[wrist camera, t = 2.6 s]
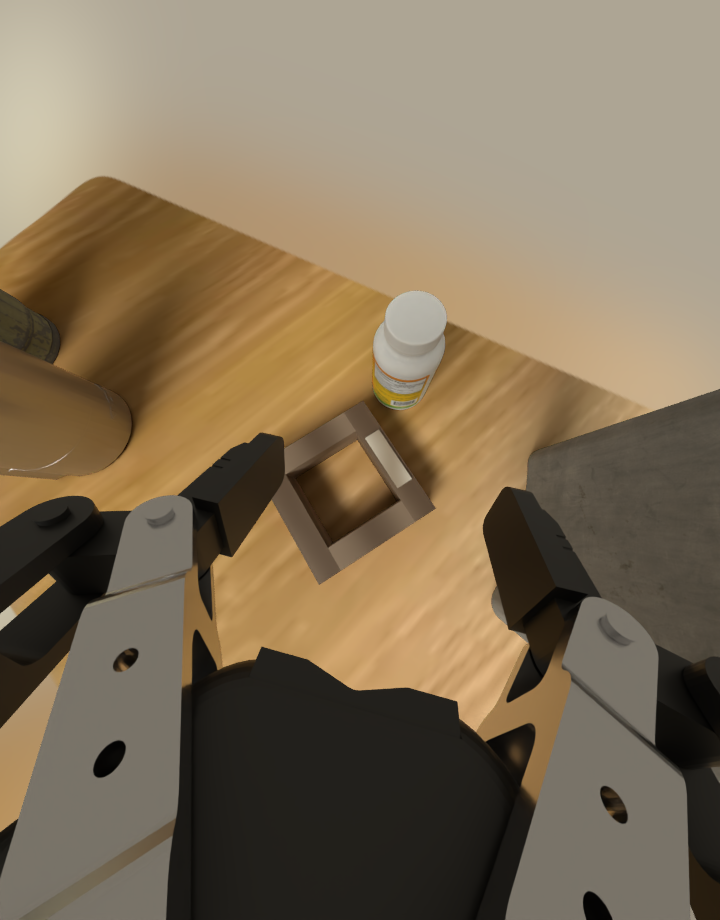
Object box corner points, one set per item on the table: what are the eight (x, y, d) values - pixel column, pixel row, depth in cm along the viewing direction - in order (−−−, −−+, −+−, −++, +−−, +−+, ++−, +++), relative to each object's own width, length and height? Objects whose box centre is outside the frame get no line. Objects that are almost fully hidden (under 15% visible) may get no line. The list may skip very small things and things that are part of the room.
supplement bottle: (397, 351, 27) (413, 265, 17) (436, 385, 26) (476, 313, 16) (360, 387, 26) (356, 318, 17) (400, 422, 25) (419, 371, 16)
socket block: (325, 574, 23) (318, 585, 20) (267, 471, 25) (252, 466, 22) (427, 508, 24) (436, 508, 21) (363, 412, 26) (363, 399, 22)
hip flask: (532, 444, 25) (1187, 196, 5) (575, 458, 24) (1474, 251, 5) (486, 614, 22) (1446, 1490, 2) (534, 633, 22) (2118, 1847, 2)
